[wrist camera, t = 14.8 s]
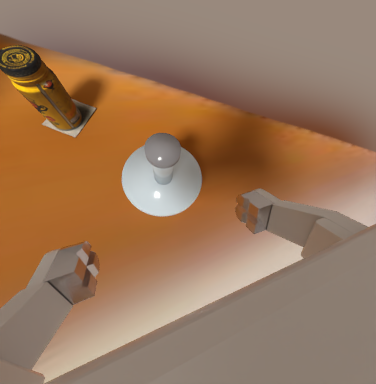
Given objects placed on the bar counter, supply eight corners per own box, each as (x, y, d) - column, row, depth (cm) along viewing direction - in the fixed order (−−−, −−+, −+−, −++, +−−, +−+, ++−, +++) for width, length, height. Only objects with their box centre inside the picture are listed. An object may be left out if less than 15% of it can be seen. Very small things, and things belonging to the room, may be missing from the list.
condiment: (42, 124, 31) (-28, 61, 20) (66, 96, 34) (16, 26, 23) (76, 138, 32) (26, 83, 20) (97, 109, 34) (63, 46, 23)
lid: (134, 227, 25) (115, 222, 15) (115, 153, 28) (89, 111, 18) (211, 202, 28) (235, 185, 18) (186, 138, 31) (196, 95, 21)
